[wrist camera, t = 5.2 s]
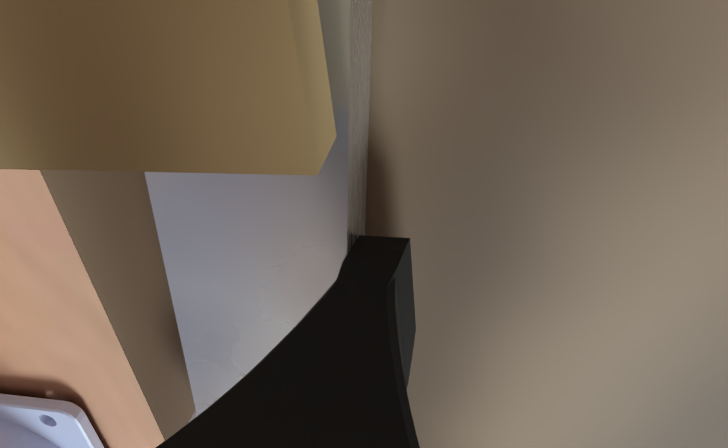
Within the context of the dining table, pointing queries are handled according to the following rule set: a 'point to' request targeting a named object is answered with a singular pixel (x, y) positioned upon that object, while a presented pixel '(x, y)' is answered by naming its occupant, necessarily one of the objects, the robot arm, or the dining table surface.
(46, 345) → the dining table surface
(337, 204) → the steel link
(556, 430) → the walnut board
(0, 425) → the robot arm
